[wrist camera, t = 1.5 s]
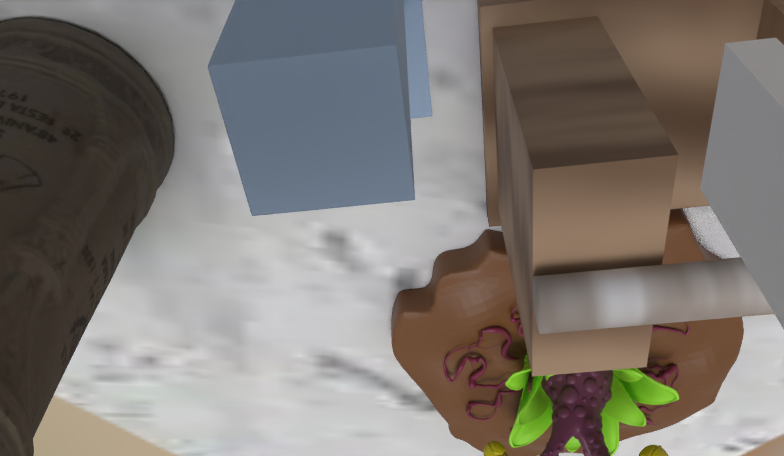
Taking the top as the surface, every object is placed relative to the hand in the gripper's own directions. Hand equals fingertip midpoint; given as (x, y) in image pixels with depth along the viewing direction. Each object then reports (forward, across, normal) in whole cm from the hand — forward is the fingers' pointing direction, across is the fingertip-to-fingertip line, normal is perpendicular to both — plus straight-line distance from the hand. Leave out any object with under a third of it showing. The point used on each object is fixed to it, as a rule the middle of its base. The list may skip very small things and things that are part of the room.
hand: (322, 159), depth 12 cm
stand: (+21, +13, -12) cm, 27 cm away
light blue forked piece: (+21, 0, 0) cm, 21 cm away
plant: (+22, +9, -27) cm, 36 cm away
